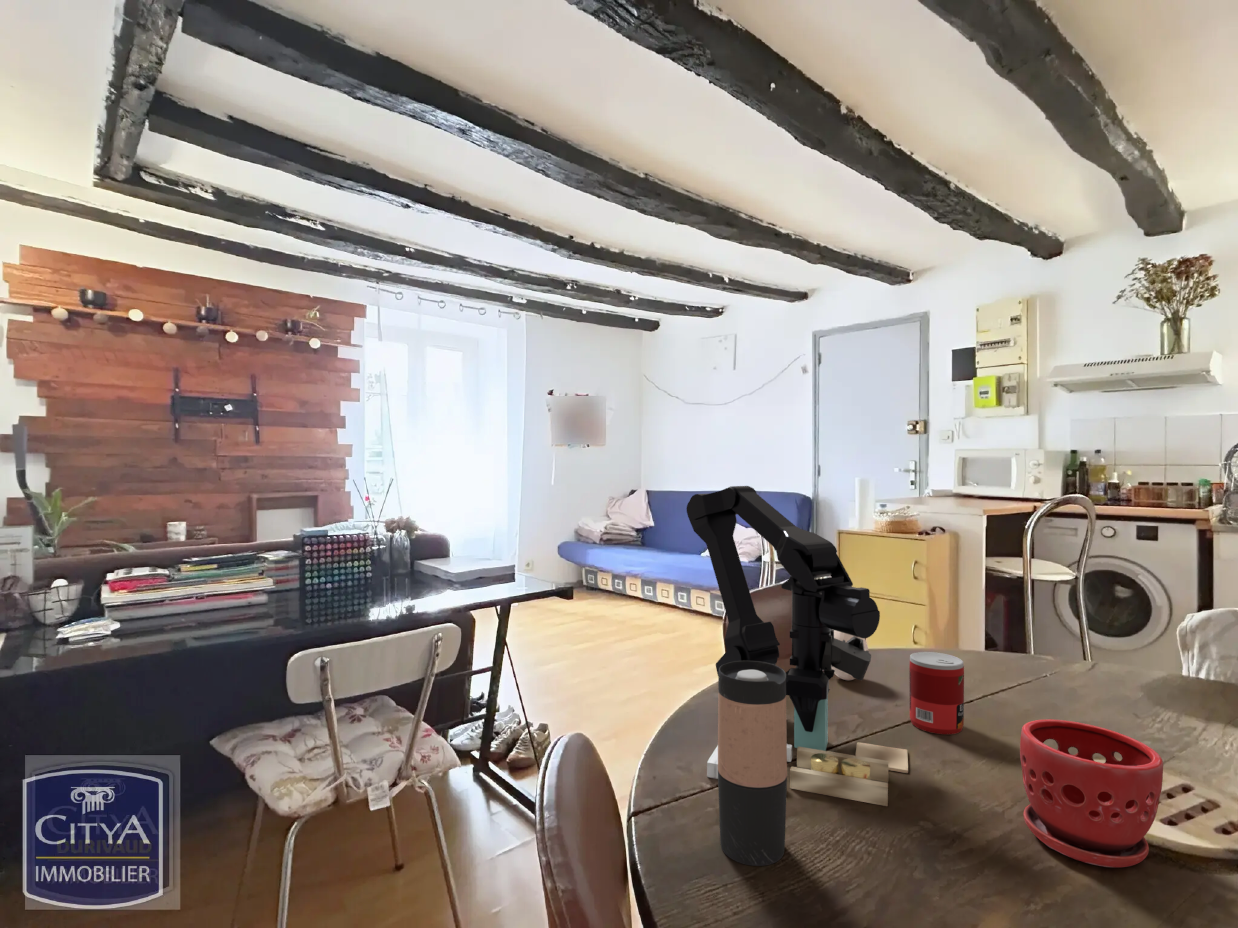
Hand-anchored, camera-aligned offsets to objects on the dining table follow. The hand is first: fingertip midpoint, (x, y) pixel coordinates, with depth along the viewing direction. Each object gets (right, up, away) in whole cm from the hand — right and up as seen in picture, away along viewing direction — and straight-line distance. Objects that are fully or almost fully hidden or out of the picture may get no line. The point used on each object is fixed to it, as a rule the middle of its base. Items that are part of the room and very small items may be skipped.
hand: (811, 724), depth 102 cm
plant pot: (+24, -4, -26) cm, 35 cm away
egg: (+15, -3, +29) cm, 33 cm away
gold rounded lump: (-1, -3, -11) cm, 12 cm away
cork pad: (+9, -3, -5) cm, 10 cm away
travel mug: (-14, -4, -27) cm, 30 cm away
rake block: (0, -3, 0) cm, 3 cm away
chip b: (+2, -3, -13) cm, 13 cm away
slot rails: (0, -3, -12) cm, 12 cm away
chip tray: (-11, -3, -7) cm, 13 cm away
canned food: (+22, -3, +7) cm, 24 cm away
